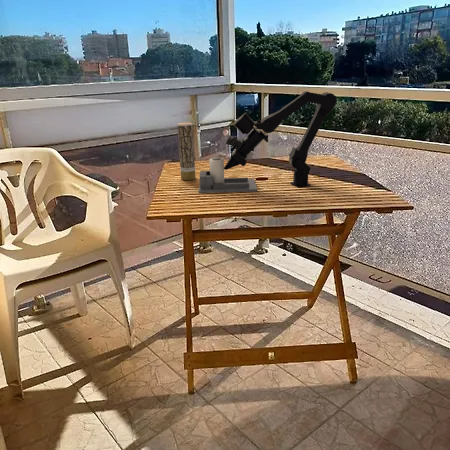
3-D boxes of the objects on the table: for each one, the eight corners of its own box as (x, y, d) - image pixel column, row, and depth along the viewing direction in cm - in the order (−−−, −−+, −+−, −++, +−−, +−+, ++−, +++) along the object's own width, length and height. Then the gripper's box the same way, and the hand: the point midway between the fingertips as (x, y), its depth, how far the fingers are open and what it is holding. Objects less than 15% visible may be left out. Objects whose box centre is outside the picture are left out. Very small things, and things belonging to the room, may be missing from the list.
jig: (253, 180, 178) (253, 167, 176) (257, 191, 163) (257, 177, 161) (200, 182, 178) (199, 169, 176) (198, 193, 163) (197, 178, 161)
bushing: (224, 182, 173) (223, 156, 169) (224, 186, 167) (223, 159, 163) (210, 182, 173) (209, 156, 169) (210, 186, 167) (209, 160, 163)
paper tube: (193, 181, 180) (190, 124, 171) (179, 180, 181) (175, 124, 172) (197, 177, 186) (194, 122, 177) (183, 176, 188) (179, 122, 178)
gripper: (236, 125, 170) (211, 151, 174) (237, 132, 153) (210, 161, 157) (254, 143, 173) (229, 168, 177) (258, 152, 156) (230, 180, 160)
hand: (224, 169), depth 168 cm, fingers closed, pressing on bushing
